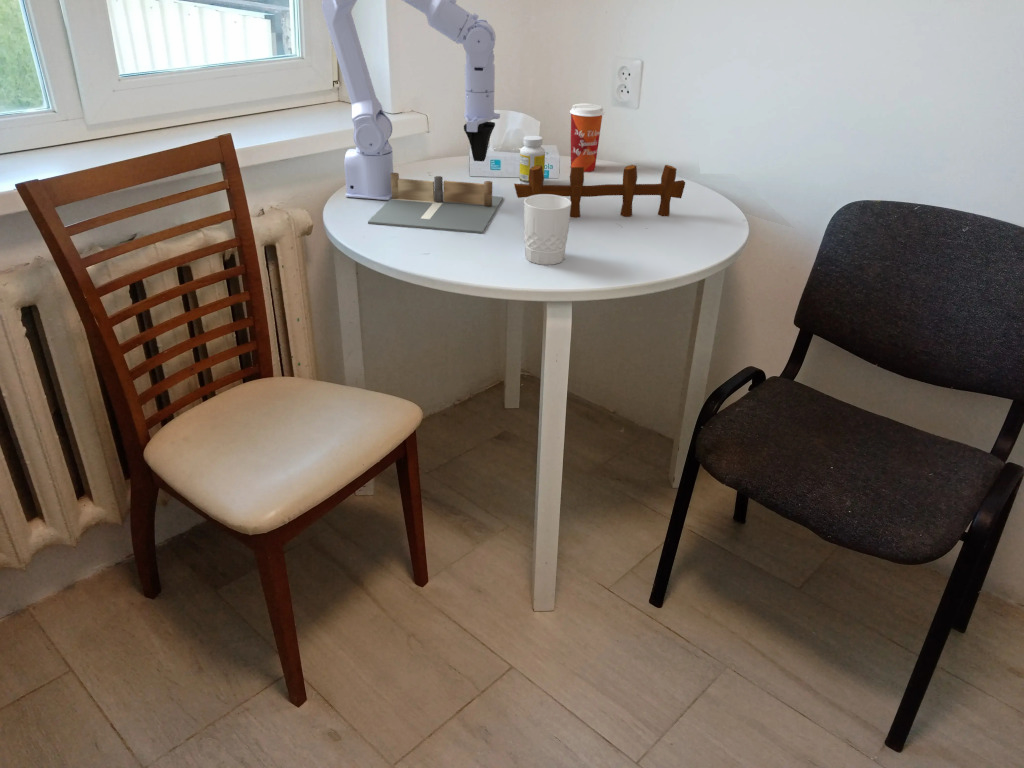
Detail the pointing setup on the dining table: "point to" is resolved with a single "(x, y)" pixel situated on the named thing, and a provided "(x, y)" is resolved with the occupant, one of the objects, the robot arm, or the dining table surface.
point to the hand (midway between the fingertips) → (479, 160)
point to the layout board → (436, 215)
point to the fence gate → (468, 192)
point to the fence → (605, 188)
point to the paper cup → (585, 135)
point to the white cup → (546, 228)
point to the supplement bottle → (531, 157)
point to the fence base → (417, 189)
